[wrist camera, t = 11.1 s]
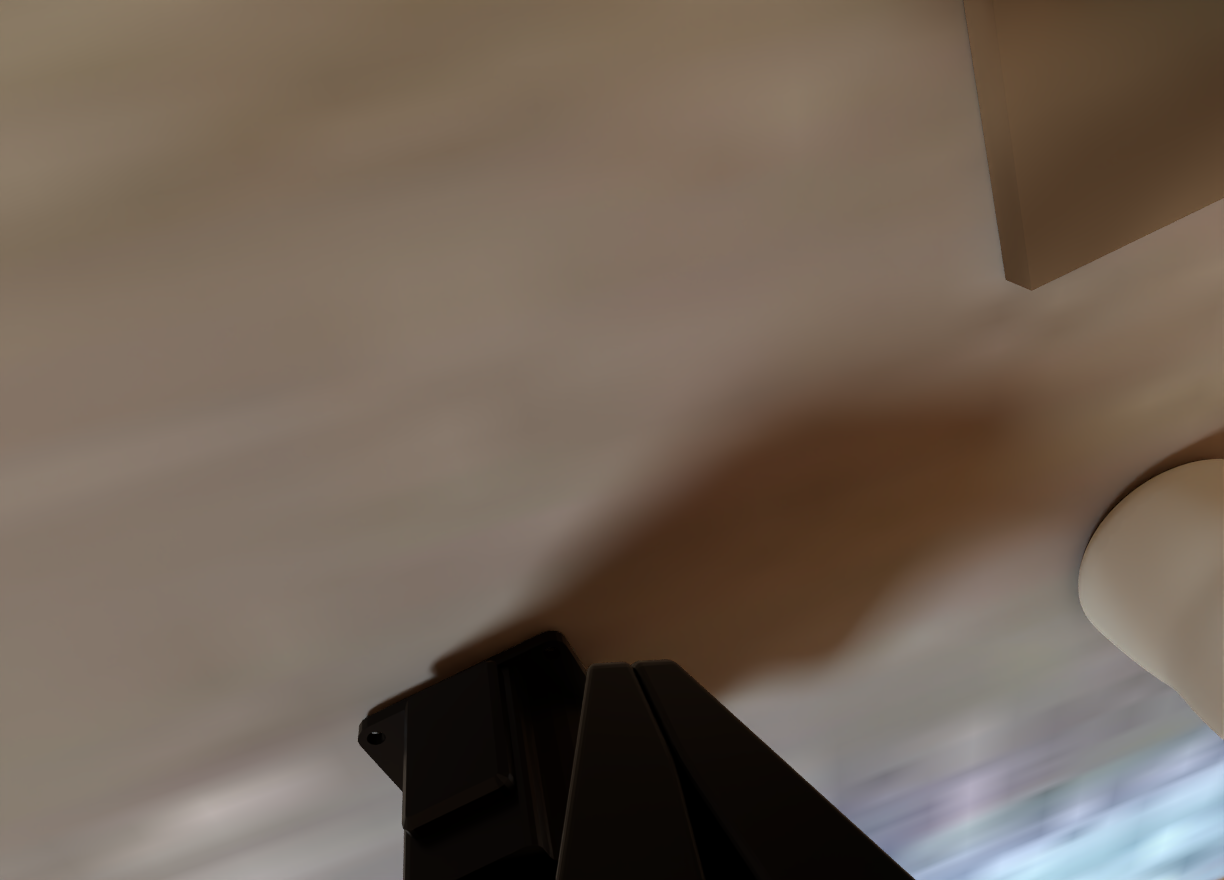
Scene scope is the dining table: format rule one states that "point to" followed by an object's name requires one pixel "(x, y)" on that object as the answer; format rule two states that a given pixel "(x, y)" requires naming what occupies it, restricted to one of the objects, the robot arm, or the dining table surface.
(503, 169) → the dining table surface
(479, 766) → the robot arm
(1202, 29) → the keyed post base
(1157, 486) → the water bottle
